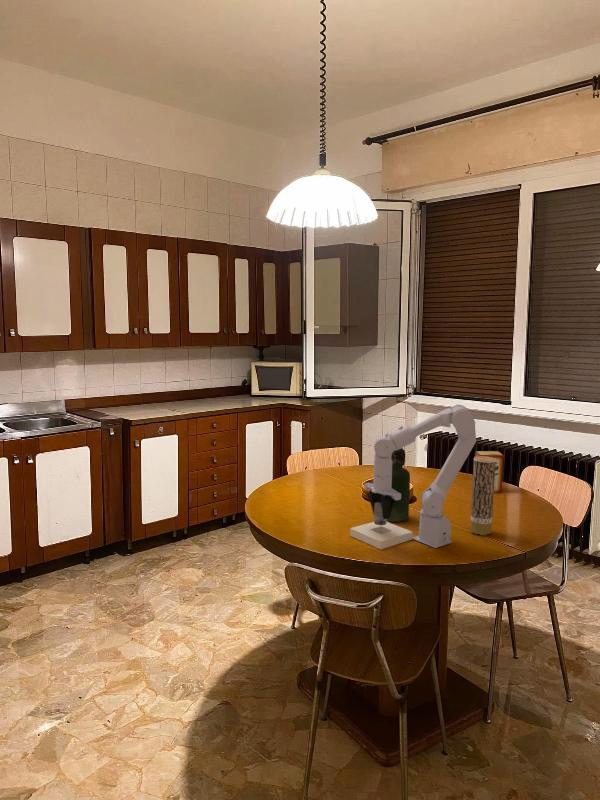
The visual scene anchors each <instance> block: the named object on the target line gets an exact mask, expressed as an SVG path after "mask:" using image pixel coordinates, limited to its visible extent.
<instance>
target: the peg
mask: <svg viewBox="0 0 600 800" xmlns="http://www.w3.org/2000/svg"><path fill="white" fill-rule="evenodd" d="M373 522H374V524H376V525H386V524H387V522H388V521H387V519H384V518H383V506H382V502H381V500H376V501H375V502H374V514H373Z"/></svg>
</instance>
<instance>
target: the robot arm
mask: <svg viewBox="0 0 600 800" xmlns="http://www.w3.org/2000/svg"><path fill="white" fill-rule="evenodd" d="M451 424H452V426H453V427H454V428H455V431H456V434H457V437H458V439H457V440H456V443H455V444H454V446H453V448H452V450H451V451H450V453H449V455H448V456H447V458H446V460H445V462H444V464H443V466H442V467H441V469H440V470H439V472H438V474H437V476H436V477H435V480H434V481H433V482H432V483H431V484H430V485H429V487H428V488H426V489H425V490H424V491H423V492H422V493H421V496H420V501H421V504H422V508H421V509H420V510H419V524H418V525H419V526H418V527H419V528H418V535H416V536H412V540H415V541H417V542H418V543H422V544H424V545H427V546H430V547H432V548H434V549H437V548H439V547H444V546H446V545H448V544H451V543H453V541H452V540H451V533H452V523H451V520H450V519H449V518H448V517H446V516H445V515H444V503H445V501H446V499H447V496H448V492H449V490H450V488H451V486H452V484H453V483H454V481H455V479H456V478H457V476H458V474H459V472H460V470H461V468H462V467H463V465H464V464H465V461H466V460H467V458H468V456H469V455H470V453H471V451H472V449H473V448H474V445H475V444H476V443H477V435H476V421H475V419H474V416H473V414H472V413H471V412H470V411H469V410H468V408H467V407H466V406H464V405H462V404H455V405H452V406H451V407H448V408H445V409H443V410H440V411H439V412H437V413H435V414H434V415H432V416H429V417H428V418H426V419H424V420H422V421H420V422H419V423H417V424H414V425H413V426H411V425H404V426H403V425H399V426H398V429H396V430H394V431H391V432H390V433H385V434H384V436H383V435H381V436H378V438H377V439H376V440H375V442H374V444H373V448H374V450H373V451H374V459H373V480H372V481H373V482H366V483H363V484H364V487H363V488H364V490H365V491H369V492H367V493H366V496H367V498H368V500H369V502H370V505H371V506H370V507H371V510H372V514H373V515H374V502H375V501H376V500H381V502H382V506H383V518H384V519H388V518H390V514H391V511H392V508H393V506H394V504H395V502H396V501H397V500H400V499H401V493H399V492H397V491H395V490H394V489H392V488H391V486H392V460H391V456H392V453H393V451H397V450H399V449H401V448H403V449H404V448H405V447H407V446H409V445H411V444H413V443H415V442H416V439H417V437H418V436H421V435H423V434H425V433H427V432H431V430H434V429H436V428H439V427H446V428H451V427H452V426H451ZM383 495H385V496H386V497H383V498H382V496H383Z"/></svg>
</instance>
